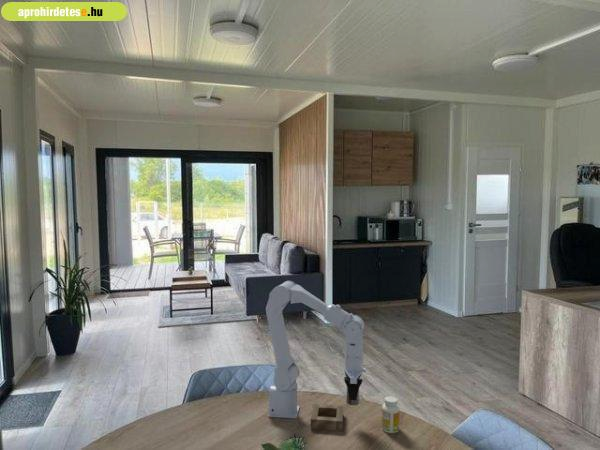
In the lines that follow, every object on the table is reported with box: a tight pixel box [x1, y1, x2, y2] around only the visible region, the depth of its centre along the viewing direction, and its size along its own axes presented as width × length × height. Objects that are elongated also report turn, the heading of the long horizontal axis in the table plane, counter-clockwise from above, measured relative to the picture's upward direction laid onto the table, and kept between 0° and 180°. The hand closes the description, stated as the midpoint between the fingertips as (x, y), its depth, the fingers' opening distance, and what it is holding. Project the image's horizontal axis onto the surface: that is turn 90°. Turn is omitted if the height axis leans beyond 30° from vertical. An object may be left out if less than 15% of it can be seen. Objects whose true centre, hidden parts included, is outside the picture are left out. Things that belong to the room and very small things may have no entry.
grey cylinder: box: [346, 376, 360, 406], centre depth 137 cm, size 4×4×8 cm
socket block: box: [310, 403, 344, 432], centre depth 139 cm, size 10×10×3 cm
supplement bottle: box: [381, 395, 401, 434], centre depth 134 cm, size 5×5×10 cm
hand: (352, 396), depth 137 cm, fingers closed on grey cylinder, 4 cm apart
